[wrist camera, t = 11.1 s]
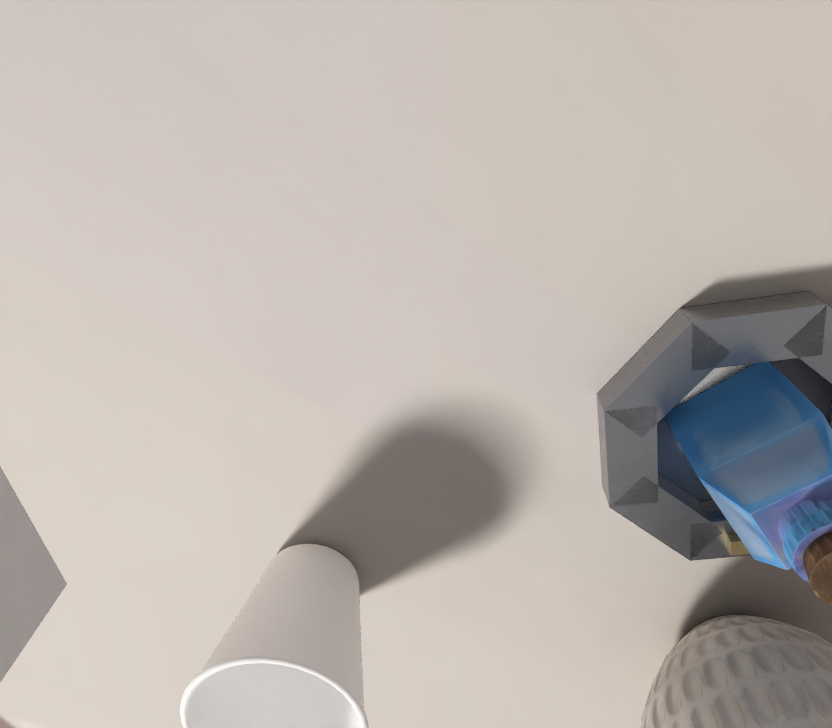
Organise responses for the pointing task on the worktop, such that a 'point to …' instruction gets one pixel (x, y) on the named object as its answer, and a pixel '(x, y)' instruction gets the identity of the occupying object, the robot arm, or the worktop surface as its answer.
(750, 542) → the perfume bottle
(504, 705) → the worktop surface
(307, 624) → the cup
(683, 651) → the vase
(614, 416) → the ring
